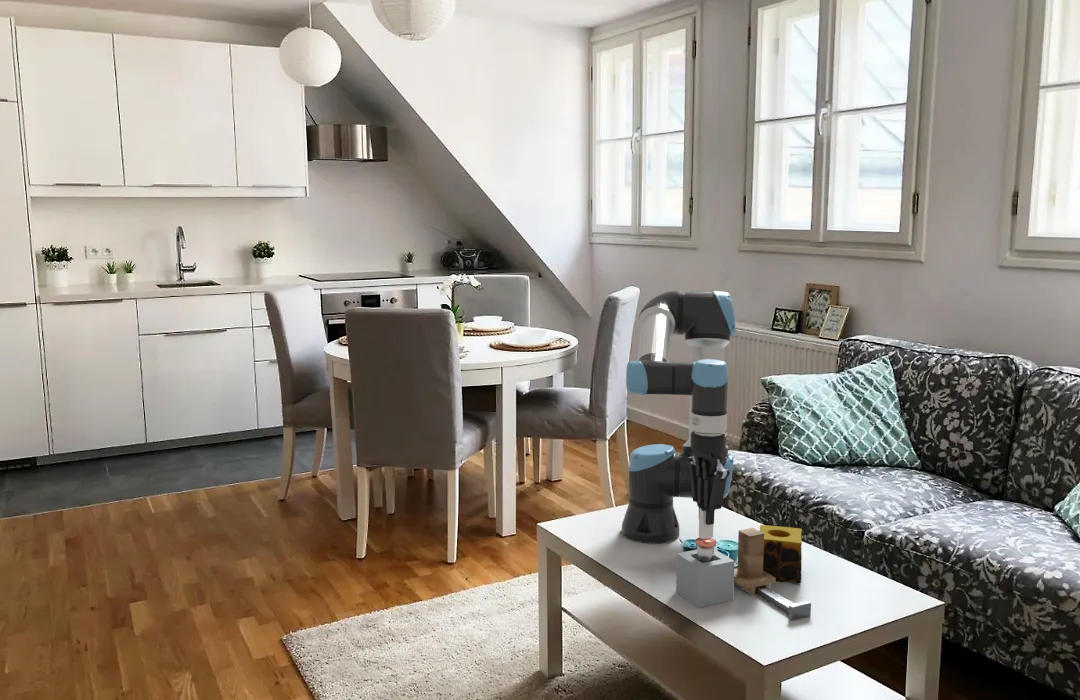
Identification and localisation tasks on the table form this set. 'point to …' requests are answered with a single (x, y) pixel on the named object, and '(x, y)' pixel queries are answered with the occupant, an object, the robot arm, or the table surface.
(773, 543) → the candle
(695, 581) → the housing
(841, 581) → the table surface
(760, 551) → the carriage
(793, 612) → the rail
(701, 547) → the plunger
